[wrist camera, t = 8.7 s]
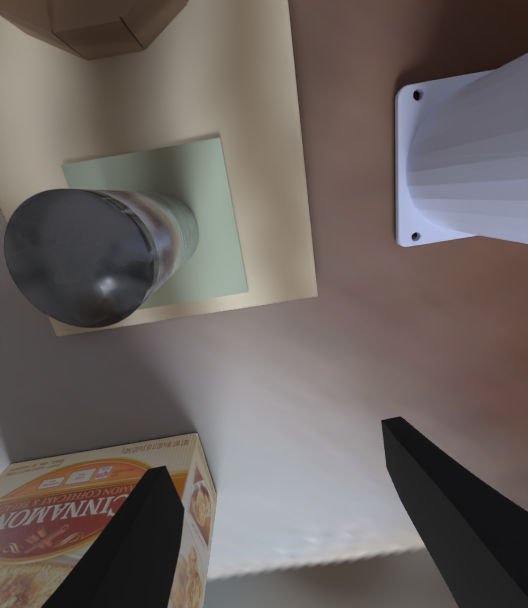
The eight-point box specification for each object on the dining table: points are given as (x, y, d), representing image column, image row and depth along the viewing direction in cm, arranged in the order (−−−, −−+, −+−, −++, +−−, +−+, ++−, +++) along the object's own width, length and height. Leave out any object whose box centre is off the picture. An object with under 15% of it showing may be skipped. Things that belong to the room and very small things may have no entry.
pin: (189, 186, 15) (126, 177, 8) (206, 262, 17) (166, 318, 9) (113, 198, 15) (-23, 201, 8) (135, 273, 17) (38, 336, 9)
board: (248, -348, 11) (245, -591, 7) (314, 291, 19) (326, 311, 16) (-180, -255, 11) (-364, -445, 8) (66, 330, 19) (27, 357, 16)
